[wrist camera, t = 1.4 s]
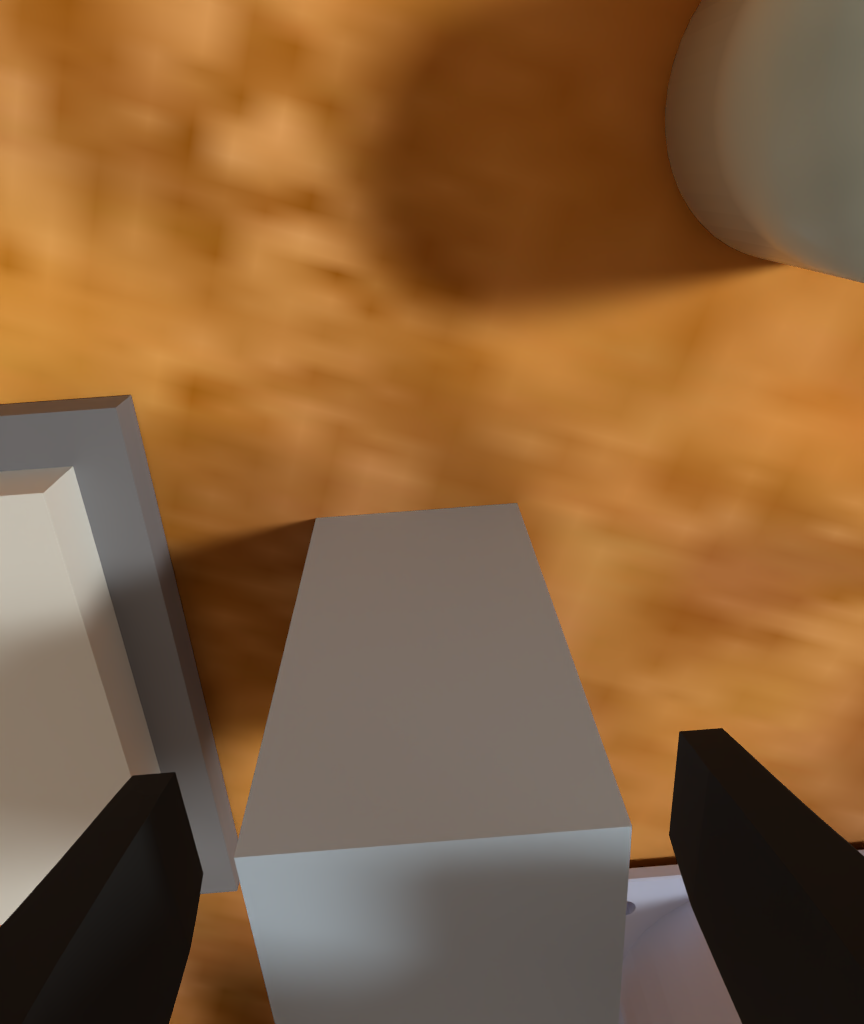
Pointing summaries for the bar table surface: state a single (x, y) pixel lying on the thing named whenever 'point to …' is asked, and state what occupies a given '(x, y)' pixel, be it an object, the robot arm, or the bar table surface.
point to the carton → (433, 789)
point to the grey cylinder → (773, 129)
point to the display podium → (92, 644)
